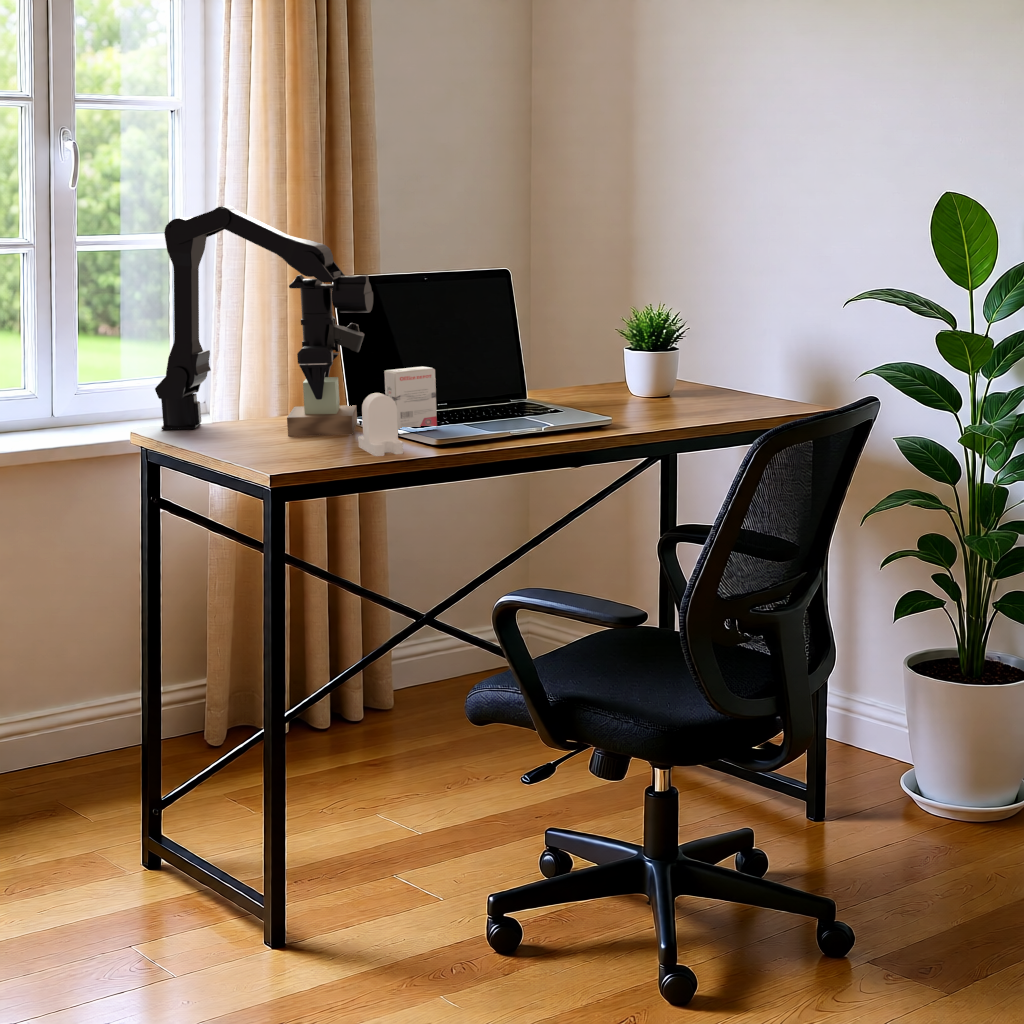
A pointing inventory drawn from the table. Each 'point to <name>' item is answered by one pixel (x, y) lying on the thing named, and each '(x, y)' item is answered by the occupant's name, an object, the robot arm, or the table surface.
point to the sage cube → (328, 401)
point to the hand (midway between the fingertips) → (321, 395)
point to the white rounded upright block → (380, 426)
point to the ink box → (413, 395)
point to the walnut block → (322, 422)
